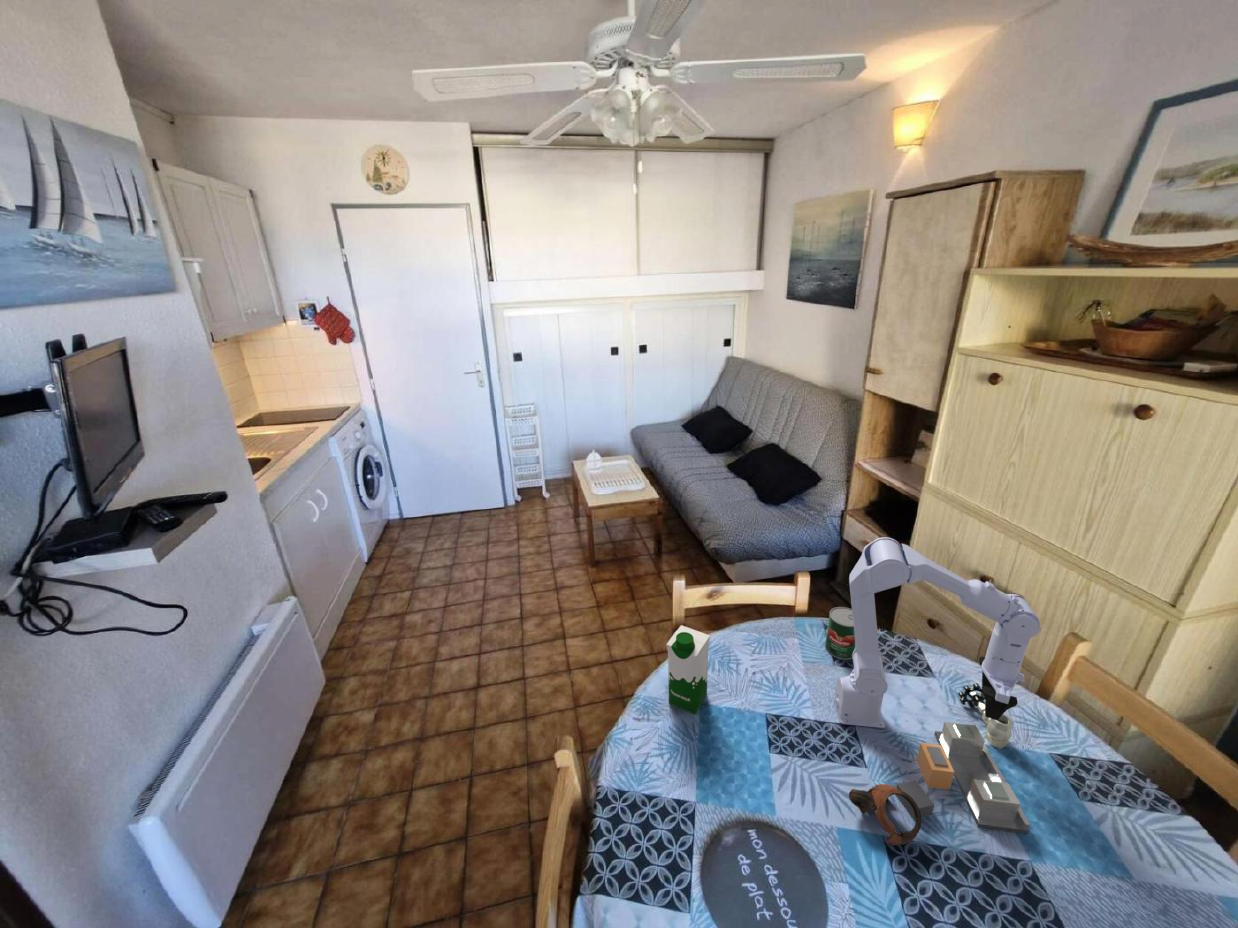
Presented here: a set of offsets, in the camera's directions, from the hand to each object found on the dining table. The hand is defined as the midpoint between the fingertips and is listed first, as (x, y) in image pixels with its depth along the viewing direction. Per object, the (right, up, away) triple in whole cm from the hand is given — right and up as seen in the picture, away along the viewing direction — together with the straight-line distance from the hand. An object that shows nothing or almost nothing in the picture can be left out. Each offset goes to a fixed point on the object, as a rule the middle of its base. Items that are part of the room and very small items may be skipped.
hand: (989, 703), depth 106 cm
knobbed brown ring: (-29, -17, -11) cm, 35 cm away
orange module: (-14, -13, -4) cm, 19 cm away
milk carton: (-61, -7, +17) cm, 64 cm away
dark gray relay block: (-21, -15, -9) cm, 28 cm away
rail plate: (-6, -13, -5) cm, 15 cm away
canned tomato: (-18, 0, +30) cm, 35 cm away
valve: (+4, -8, +7) cm, 11 cm away
